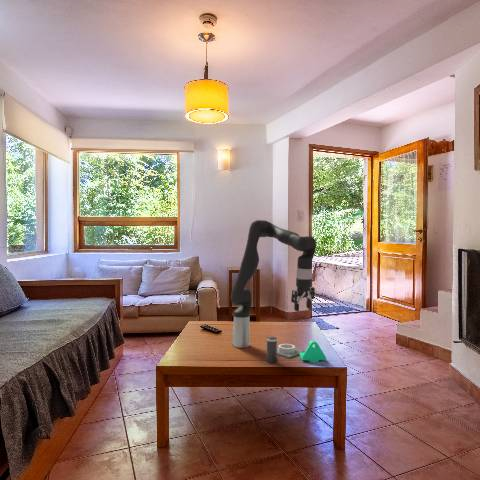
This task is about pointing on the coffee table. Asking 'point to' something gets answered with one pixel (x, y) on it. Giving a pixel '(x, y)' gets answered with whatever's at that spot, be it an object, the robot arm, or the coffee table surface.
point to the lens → (271, 349)
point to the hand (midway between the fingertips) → (302, 309)
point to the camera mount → (313, 353)
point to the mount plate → (297, 352)
